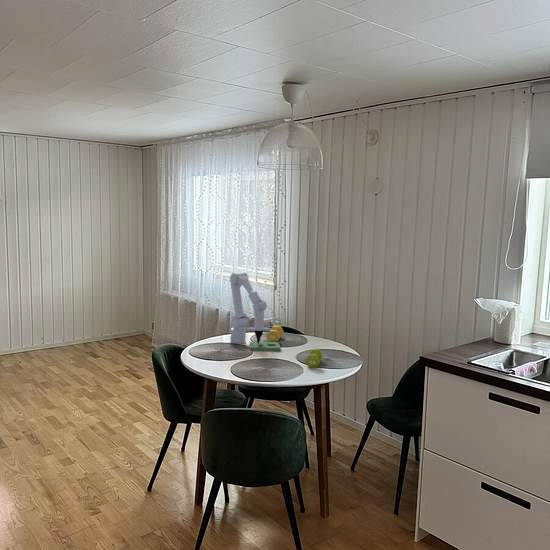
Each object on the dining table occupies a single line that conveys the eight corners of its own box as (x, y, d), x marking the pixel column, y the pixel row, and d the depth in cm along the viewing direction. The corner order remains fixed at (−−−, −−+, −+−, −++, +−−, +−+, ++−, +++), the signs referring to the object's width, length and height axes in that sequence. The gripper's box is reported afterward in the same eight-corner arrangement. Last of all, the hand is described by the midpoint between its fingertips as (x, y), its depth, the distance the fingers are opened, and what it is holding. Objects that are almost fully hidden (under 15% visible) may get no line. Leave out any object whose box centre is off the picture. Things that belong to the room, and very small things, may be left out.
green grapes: (308, 359, 290) (309, 347, 289) (322, 361, 288) (323, 348, 287) (304, 367, 274) (304, 354, 273) (319, 369, 272) (319, 356, 271)
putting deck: (250, 350, 303) (250, 347, 303) (249, 345, 317) (249, 341, 316) (280, 351, 305) (280, 348, 304) (278, 345, 319) (278, 342, 318)
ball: (256, 343, 308) (260, 339, 308) (256, 341, 311) (260, 337, 311) (260, 347, 309) (264, 343, 308) (260, 345, 312) (264, 341, 312)
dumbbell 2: (270, 336, 342) (271, 324, 341) (283, 337, 341) (284, 325, 340) (265, 343, 324) (265, 330, 323) (279, 344, 322) (279, 331, 321)
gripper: (247, 322, 304) (246, 344, 305) (271, 322, 305) (270, 344, 306) (246, 319, 311) (246, 341, 312) (270, 320, 312) (269, 342, 313)
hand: (258, 343), depth 310 cm, fingers closed, pressing on ball
